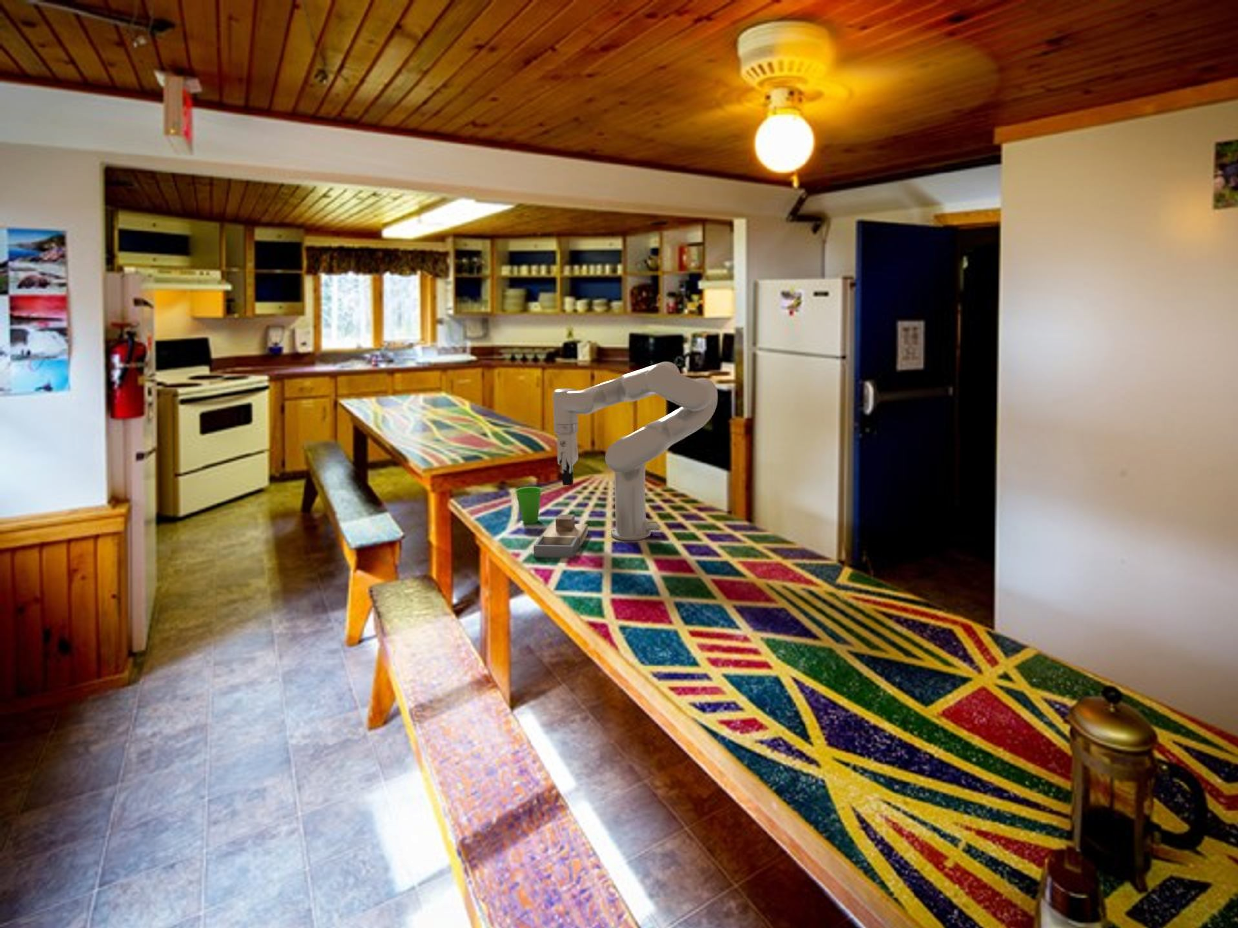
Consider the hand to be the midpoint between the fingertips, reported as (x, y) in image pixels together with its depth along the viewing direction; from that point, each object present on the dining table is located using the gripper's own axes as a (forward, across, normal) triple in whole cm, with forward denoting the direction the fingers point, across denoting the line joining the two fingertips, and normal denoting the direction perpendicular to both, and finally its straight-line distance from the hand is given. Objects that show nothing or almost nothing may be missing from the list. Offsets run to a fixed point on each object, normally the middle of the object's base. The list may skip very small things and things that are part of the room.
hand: (567, 484), depth 230 cm
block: (+12, -8, 0) cm, 15 cm away
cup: (+16, +9, +15) cm, 24 cm away
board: (+15, -9, -1) cm, 18 cm away
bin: (+15, -20, -1) cm, 26 cm away
